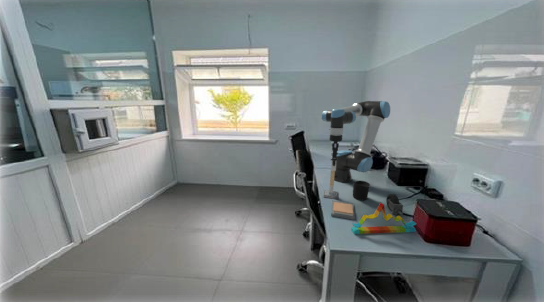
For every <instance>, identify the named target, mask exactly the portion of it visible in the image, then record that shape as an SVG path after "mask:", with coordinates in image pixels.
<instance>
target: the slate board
mask: <svg viewBox="0 0 544 302" xmlns="http://www.w3.org/2000/svg"><path fill="white" fill-rule="evenodd" d="M331 200H332V199H331ZM334 202H337V203H344V204H351V205H352V208H353V216H350V215H344V214H338V213H333V210H334ZM354 207H355V206H354V203H352V202H348V201H347V202H346V201H341V200H334V199H333V200H332V201H331V212H330V216H331V217H333V218H341V219H345V220H346V219H348V220H354V221H355V220H356V213H355V208H354Z"/></svg>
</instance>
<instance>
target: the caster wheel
mask: <svg viewBox="0 0 544 302" xmlns="http://www.w3.org/2000/svg"><path fill="white" fill-rule="evenodd" d="M385 201H386V206H387V208H388V209H389V210H390V211H391V213H392V214H391V215H394V216H404V214H403V208H404V205H403V204H402V202H400V199H399V196H398V195H397V194H394V193H388V194H387V195H386V199H385Z"/></svg>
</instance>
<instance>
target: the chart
mask: <svg viewBox="0 0 544 302" xmlns="http://www.w3.org/2000/svg"><path fill="white" fill-rule="evenodd" d="M381 212H382V217H383V220H385V221H386V222H387V221H390V219H393V220H394V221H395V222H397V223H399V221H400V222H401V223H402V224H403V225H387V226H386V225H385V226H384V225H383V226H381V225H380V226H362V225H364V223H365V221H366V220H373V219H376V218H378V216H379V214H380V213H381ZM351 224H352V225H353V227H352V226H351V229H350V230H351V232H352V233H353V234H354V235H359V234H360V235H363V234H367V235H368V234H389V233H394V234H395V233H397V234H398V233H415V232H416V230H417V229H416V227H414V226H416V225H417V223H416V222H415V221H414V220H411V221H409V222H405V221H404V218H403V217H402V216H401V215H396V216H395V217H394V216H393V214H391V213H388V214H386V208H385V205H384V204H383V203H382V202H380V203H379V204H378V206H377V208H376V210H375V211H374V213H372V214H369V215H367V214H363V215H362V217H361V218H360V219H359V221H358V222H357V223H354V222H352V223H351Z"/></svg>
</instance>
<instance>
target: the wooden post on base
mask: <svg viewBox="0 0 544 302" xmlns="http://www.w3.org/2000/svg"><path fill="white" fill-rule="evenodd" d="M334 176H335V171H332V170H330V180H329V190H328V189H324V191H325V195H324V194H323V197H324V196H330V197H337V192H338V191H337V192H336V191H335V190H334V187H335V180H334Z"/></svg>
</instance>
